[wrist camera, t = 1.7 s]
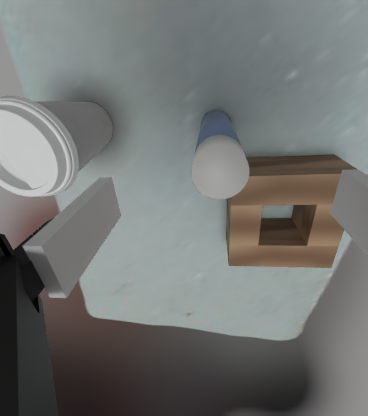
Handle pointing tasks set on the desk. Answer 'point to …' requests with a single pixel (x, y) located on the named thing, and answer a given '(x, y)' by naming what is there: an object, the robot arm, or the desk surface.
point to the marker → (219, 158)
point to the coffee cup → (48, 143)
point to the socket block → (286, 227)
